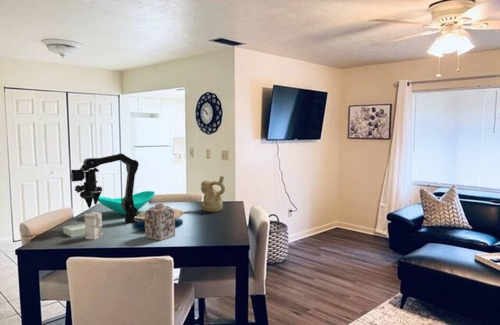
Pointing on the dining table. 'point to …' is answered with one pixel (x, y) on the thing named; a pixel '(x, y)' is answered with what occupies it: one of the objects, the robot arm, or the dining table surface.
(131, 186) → the robot arm
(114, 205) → the table top decor
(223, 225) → the dining table surface
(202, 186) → the ceramic vessel
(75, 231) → the sage block
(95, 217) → the cream block
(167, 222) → the decorative jar
